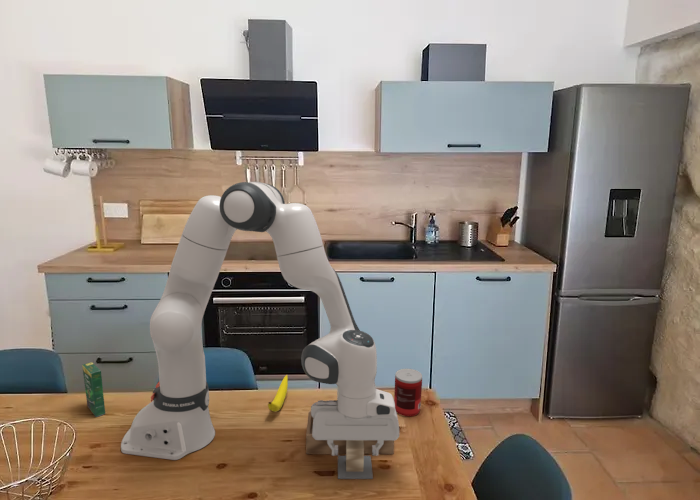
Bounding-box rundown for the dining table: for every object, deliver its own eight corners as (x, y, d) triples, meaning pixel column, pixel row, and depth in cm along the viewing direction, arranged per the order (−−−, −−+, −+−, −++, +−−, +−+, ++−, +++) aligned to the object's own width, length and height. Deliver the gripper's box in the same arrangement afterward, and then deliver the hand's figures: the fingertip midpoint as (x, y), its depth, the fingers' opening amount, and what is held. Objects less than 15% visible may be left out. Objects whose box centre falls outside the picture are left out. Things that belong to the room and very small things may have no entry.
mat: (337, 478, 114) (337, 477, 114) (337, 457, 122) (337, 455, 122) (372, 478, 115) (372, 477, 115) (370, 457, 122) (370, 455, 122)
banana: (291, 389, 154) (291, 370, 153) (275, 424, 136) (275, 402, 134) (282, 389, 155) (282, 370, 153) (264, 423, 136) (264, 402, 135)
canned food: (413, 400, 149) (414, 366, 147) (425, 414, 142) (427, 379, 139) (389, 404, 147) (390, 370, 144) (400, 419, 139) (402, 382, 137)
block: (346, 471, 116) (346, 448, 115) (345, 460, 120) (346, 438, 119) (363, 471, 117) (364, 448, 115) (362, 460, 120) (363, 438, 119)
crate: (306, 454, 123) (306, 435, 122) (308, 427, 134) (308, 410, 133) (393, 454, 124) (394, 436, 123) (388, 427, 135) (389, 410, 134)
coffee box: (86, 406, 143) (81, 363, 140) (96, 402, 145) (92, 360, 142) (94, 417, 137) (90, 373, 134) (106, 414, 139) (101, 370, 136)
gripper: (310, 407, 111) (310, 462, 114) (401, 408, 112) (399, 462, 115) (311, 393, 117) (311, 445, 120) (398, 394, 118) (396, 446, 121)
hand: (354, 454), depth 118 cm, fingers open, 8 cm apart
